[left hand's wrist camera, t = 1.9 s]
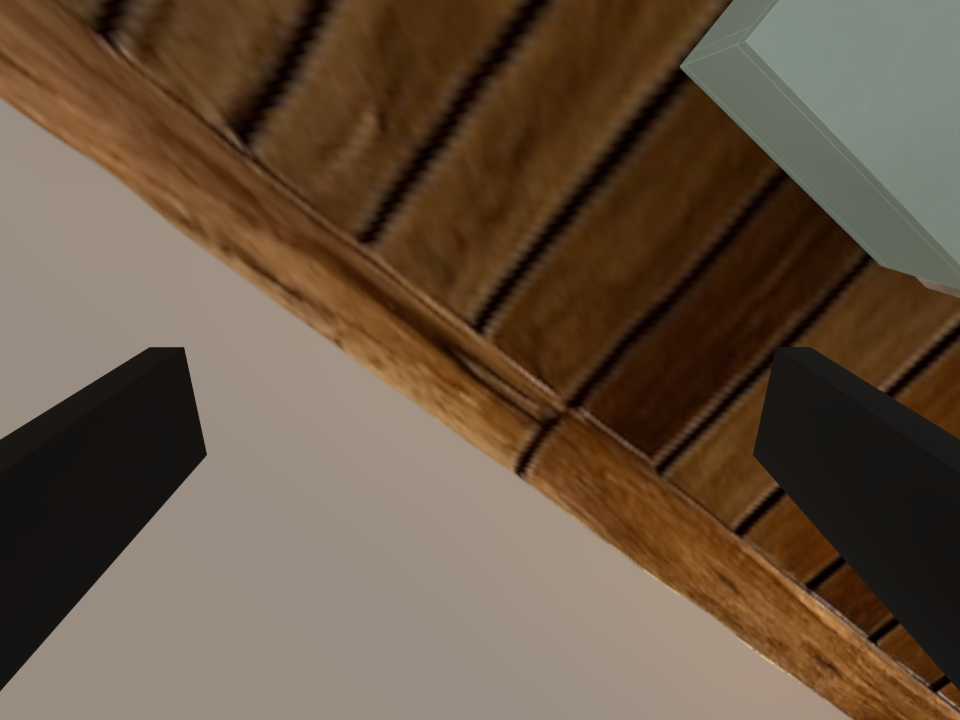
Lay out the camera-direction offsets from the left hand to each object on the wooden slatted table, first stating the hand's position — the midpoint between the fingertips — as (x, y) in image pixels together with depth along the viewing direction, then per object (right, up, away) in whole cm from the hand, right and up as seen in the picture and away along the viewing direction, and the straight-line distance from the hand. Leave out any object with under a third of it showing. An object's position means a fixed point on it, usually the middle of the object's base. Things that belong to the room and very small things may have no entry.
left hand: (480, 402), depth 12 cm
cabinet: (+21, +16, +18) cm, 32 cm away
